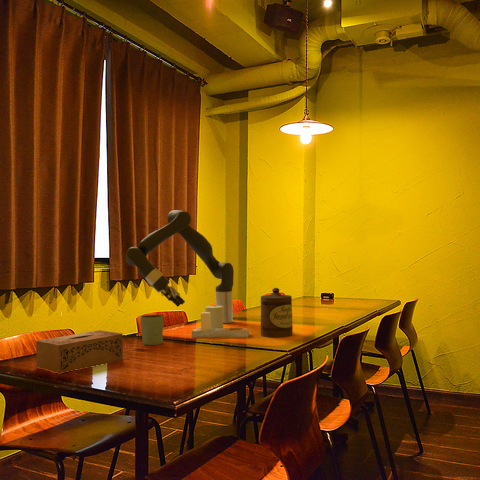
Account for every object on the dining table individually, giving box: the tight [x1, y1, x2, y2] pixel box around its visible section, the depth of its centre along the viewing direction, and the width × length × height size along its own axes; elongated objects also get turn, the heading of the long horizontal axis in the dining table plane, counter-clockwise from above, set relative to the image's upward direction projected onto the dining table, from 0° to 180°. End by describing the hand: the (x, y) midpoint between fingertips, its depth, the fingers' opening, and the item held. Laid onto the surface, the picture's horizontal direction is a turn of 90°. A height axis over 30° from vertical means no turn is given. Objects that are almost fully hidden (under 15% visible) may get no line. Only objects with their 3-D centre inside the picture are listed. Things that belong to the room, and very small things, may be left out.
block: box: [200, 311, 211, 331], centre depth 225 cm, size 4×4×11 cm
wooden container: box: [260, 287, 294, 339], centre depth 225 cm, size 15×15×22 cm
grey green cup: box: [139, 313, 164, 346], centre depth 210 cm, size 10×10×12 cm
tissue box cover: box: [35, 330, 124, 373], centre depth 172 cm, size 26×14×10 cm, turn 141°
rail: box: [191, 327, 250, 339], centre depth 224 cm, size 8×26×3 cm, turn 84°
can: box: [204, 304, 224, 328], centre depth 243 cm, size 9×9×12 cm
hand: (181, 304), depth 226 cm, fingers open, 8 cm apart
